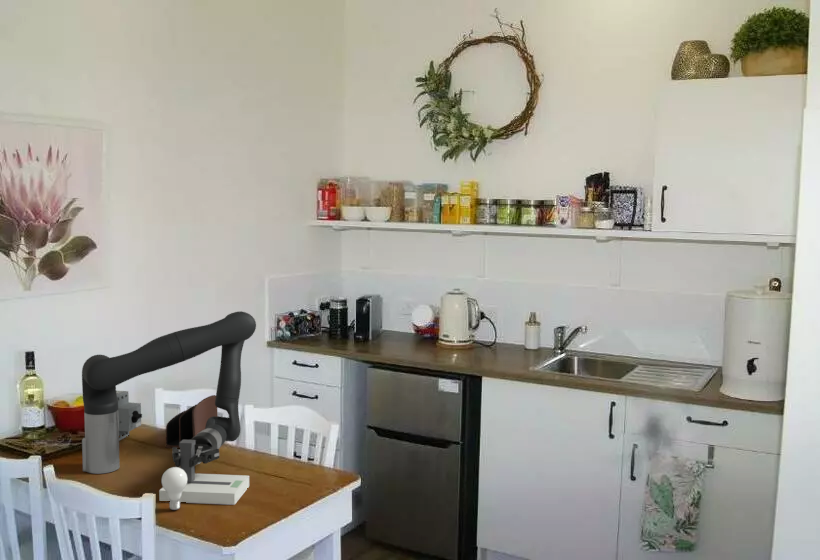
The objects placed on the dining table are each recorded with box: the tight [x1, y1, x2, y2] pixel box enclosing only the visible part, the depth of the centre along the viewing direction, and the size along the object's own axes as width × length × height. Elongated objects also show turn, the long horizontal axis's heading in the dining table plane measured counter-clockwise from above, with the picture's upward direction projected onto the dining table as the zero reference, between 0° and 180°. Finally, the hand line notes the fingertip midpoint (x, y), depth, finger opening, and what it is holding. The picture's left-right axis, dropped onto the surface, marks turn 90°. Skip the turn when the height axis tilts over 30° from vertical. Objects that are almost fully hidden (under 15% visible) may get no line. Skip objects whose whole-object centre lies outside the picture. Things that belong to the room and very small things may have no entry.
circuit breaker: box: [116, 390, 143, 441], centre depth 269 cm, size 8×14×15 cm, turn 78°
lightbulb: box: [160, 466, 188, 511], centre depth 208 cm, size 6×6×11 cm
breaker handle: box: [179, 440, 196, 483], centre depth 220 cm, size 3×3×11 cm
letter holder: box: [165, 394, 219, 449], centre depth 268 cm, size 10×20×14 cm, turn 172°
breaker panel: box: [158, 472, 250, 506], centre depth 220 cm, size 20×14×3 cm
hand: (183, 463), depth 217 cm, fingers closed on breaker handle, 3 cm apart
